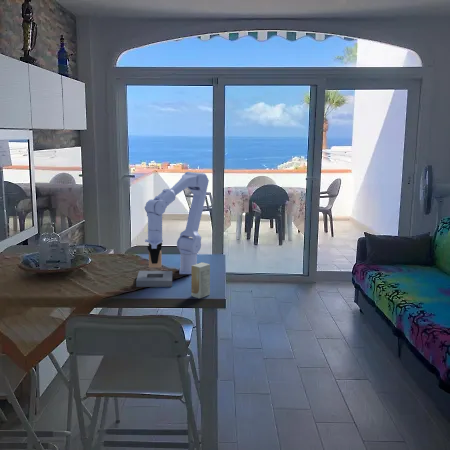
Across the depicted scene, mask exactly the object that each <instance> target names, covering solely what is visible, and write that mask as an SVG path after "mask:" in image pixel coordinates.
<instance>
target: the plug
mask: <svg viewBox="0 0 450 450" xmlns="http://www.w3.org/2000/svg"><path fill="white" fill-rule="evenodd" d="M162 259H163V258H162V250H160V253H159V257H158V263H157V264H152V261H151V256H150V252H149V251H148V268H162V262H163V261H162Z"/></svg>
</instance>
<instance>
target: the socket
mask: <svg viewBox="0 0 450 450" xmlns="http://www.w3.org/2000/svg"><path fill="white" fill-rule="evenodd" d="M136 277H137V278H136V280H135V281H136V283H135V284H136V288H137V287H139V288H142V287H143V288H144V287H145V288H148V287H149V288H153V287H155V288H159V287H163V288H166V287H167V288H169V287H172V286H173V270H139V271H138V273H137V276H136Z"/></svg>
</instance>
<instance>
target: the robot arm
mask: <svg viewBox="0 0 450 450" xmlns="http://www.w3.org/2000/svg"><path fill="white" fill-rule="evenodd" d="M209 182H210V180H209V178H208V175H207V174H206V173H204V172H202V173H201V172H191V171H186V172H185V173H184V174H182V175H181V178H180V179H179V180H178V181H177V182H176V183H175V184H174V185H173V186H171V188H164V189H163V190H162V192H161V193H159V194H158V195H156V196H155V197H154V198H152V199H149V200H147V202H146V204H145V206H144V211H145V213H146V217H147V239H145V240H144V242H145V243H148V245H147V247H146V248H147V250H148V253H149V252H150V256H151V261H152V264H157V263H158V257H159V253H160V251H162V246H163V243H164V242H163V214H165V212H166V209H167V207H168V206H169V205H170V204H172V203H173V202H174V201H175V200H176V196H177V195H178V194H180V193H181V192H183V191H184V190H186V189H188V190H189V191H190V192H191V193H192V199H191V205H190V208H189V213H188V217H187V220H186V221H187V222H186V227H185V229H184V230H183V231H181V232H180V234H179V237H178V239H177V240H176V247H177V249H178V250H179V251H178V252H179V253H180V259H179V260H180V265H179V275H191V269H192V265H195V264H198V262H197V261H198V254H199V252H200V250H201V247H202V236H201V235H200V234H199V227H200V224H201V220H202V215H203V210H204V205H205V202H206V197H207V190H208V186H209Z"/></svg>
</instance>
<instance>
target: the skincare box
mask: <svg viewBox="0 0 450 450" xmlns="http://www.w3.org/2000/svg"><path fill="white" fill-rule="evenodd" d="M190 275H191V283H190V286H191V289H190V291H191V293H190V294H191V295H190V296H191V297H193V298H196V299H203V298H205V297H207V296H210V295H211V263H206V262H204V261H203V262H202V261H201V262H197V264H195V265H192V269H191V274H190Z"/></svg>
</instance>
